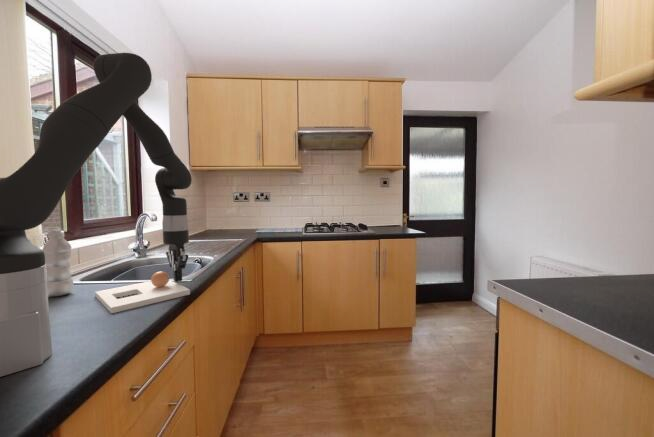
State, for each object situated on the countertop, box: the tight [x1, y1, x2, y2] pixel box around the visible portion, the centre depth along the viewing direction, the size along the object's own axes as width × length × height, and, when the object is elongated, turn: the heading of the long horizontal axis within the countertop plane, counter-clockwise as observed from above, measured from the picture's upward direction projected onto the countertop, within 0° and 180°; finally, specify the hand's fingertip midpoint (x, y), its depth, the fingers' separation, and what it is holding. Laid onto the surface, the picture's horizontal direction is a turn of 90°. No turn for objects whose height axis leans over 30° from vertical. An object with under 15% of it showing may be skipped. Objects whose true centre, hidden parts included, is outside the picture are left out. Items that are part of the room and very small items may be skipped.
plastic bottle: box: [42, 230, 75, 297], centre depth 90 cm, size 6×7×20 cm
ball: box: [150, 270, 170, 287], centre depth 93 cm, size 5×5×5 cm
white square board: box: [94, 279, 191, 314], centre depth 90 cm, size 20×20×2 cm
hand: (177, 280), depth 97 cm, fingers closed
